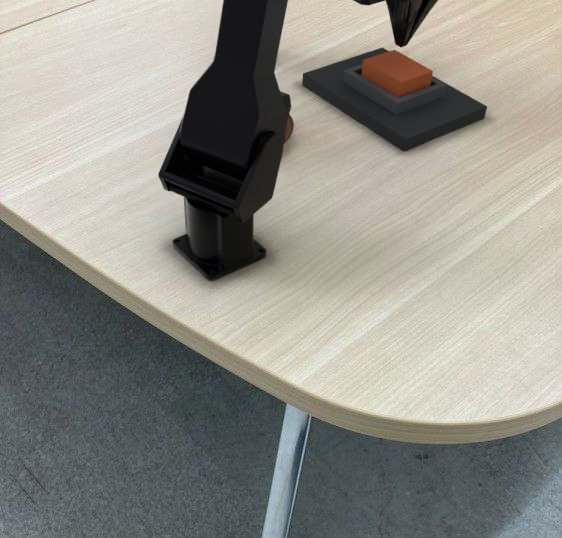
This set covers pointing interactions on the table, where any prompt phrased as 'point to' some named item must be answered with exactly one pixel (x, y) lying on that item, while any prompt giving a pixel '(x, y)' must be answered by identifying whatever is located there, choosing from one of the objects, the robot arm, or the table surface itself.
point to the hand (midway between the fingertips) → (400, 45)
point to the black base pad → (394, 103)
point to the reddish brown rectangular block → (396, 73)
